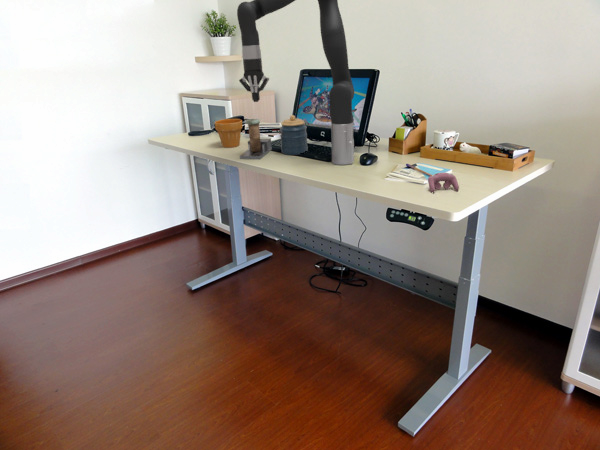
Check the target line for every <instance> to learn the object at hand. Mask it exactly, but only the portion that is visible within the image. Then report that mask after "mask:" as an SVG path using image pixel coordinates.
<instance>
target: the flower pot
mask: <svg viewBox="0 0 600 450" xmlns="http://www.w3.org/2000/svg"><path fill="white" fill-rule="evenodd" d="M214 128H215V130H216V131H217V134H218V137H219V139H220V142H221V145H222V147H223V148H227V149H228V148H237V147H239V146H240V143H241V142H240V141H241V135H242V134H241V132H242V129H243V120H242V119H240V118H225V119H220V120H219V119H218V120H216V121H214Z"/></svg>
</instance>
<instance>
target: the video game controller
mask: <svg viewBox="0 0 600 450" xmlns="http://www.w3.org/2000/svg"><path fill="white" fill-rule="evenodd" d="M440 182H443V184H441V183H440ZM427 183H428V187H429V190H430V193H432V192H433V193H432V194H434V193H435V192H436V191H435V190H441V188H442V187H443V189H445V190H448V189H450V188H451V186H452V187H453V189H454V190H455V192H459V189H460V185H459V182H458V179H457V178H456V176H455V175H454V174H453V173H448V172H437V173H435V174H431V175H430V176H429V177H428V178H427Z"/></svg>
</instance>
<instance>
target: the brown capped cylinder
mask: <svg viewBox="0 0 600 450" xmlns="http://www.w3.org/2000/svg"><path fill="white" fill-rule="evenodd" d="M260 121H261V120H260V119H259V118H252V119H251V118H249V119H246V125H247V126H248V135H249V140H250V146H251V151H252V152H258V151H261V142H260V139H261V134H260V133H261V132H260V123H261V122H260Z"/></svg>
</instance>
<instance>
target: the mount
mask: <svg viewBox="0 0 600 450" xmlns="http://www.w3.org/2000/svg"><path fill="white" fill-rule="evenodd" d="M260 142H261V151H258V152H252V151H251V146H250V139H249V140H248V141H247V148H248V149H247V150H246V151H244V152H243V153H241V154H240V155H239V160H261V159H263V158H264V157H265V156H266V155H267V154H269V152H271V151H272V150H273V148H272V139H271V138H260Z"/></svg>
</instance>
